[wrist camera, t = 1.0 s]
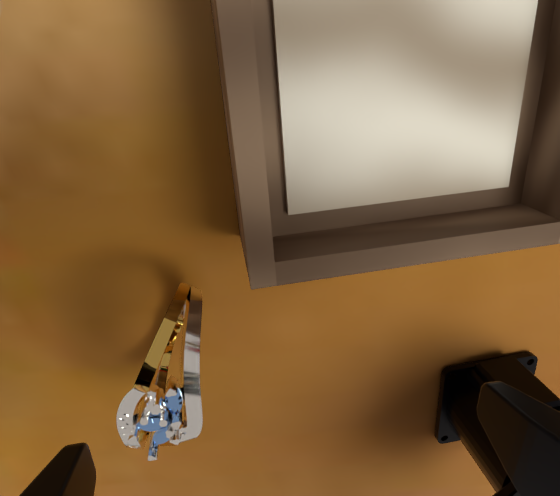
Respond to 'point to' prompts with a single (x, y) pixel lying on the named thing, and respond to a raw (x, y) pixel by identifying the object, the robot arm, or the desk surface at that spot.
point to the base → (389, 131)
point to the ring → (152, 381)
